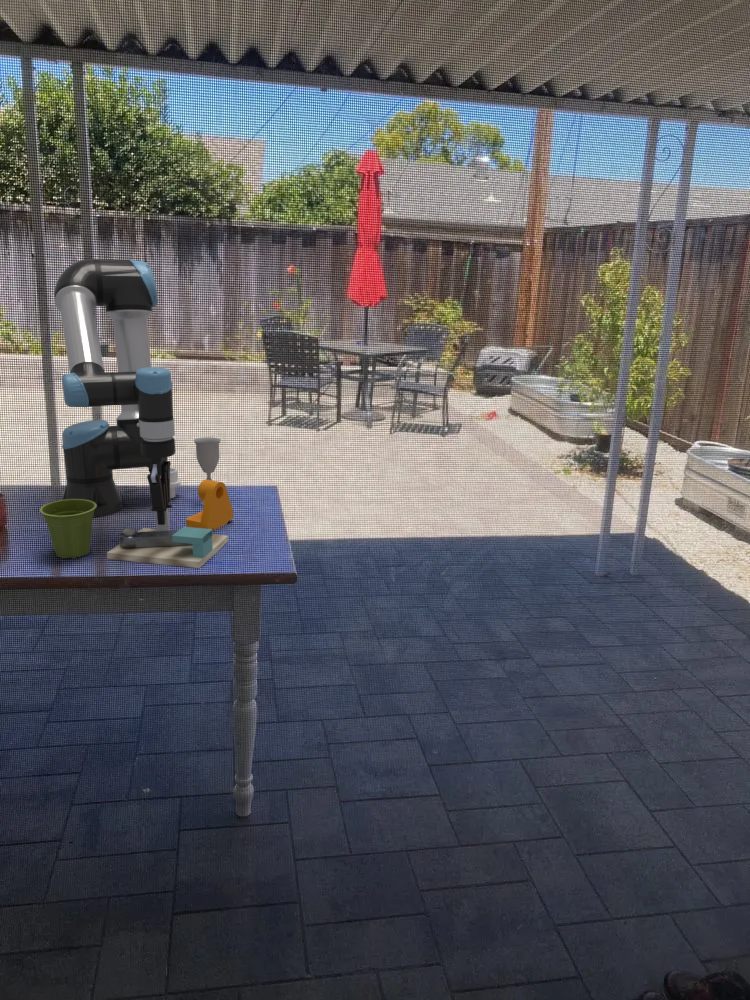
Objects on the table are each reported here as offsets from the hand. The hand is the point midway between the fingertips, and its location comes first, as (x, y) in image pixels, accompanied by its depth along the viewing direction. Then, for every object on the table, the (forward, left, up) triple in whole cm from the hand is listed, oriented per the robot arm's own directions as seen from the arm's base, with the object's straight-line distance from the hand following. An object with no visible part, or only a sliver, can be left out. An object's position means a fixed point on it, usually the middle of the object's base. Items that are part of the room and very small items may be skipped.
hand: (163, 535), depth 174 cm
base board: (+2, -2, -3) cm, 4 cm away
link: (+1, -3, -1) cm, 3 cm away
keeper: (+10, -5, -1) cm, 11 cm away
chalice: (-3, +34, -3) cm, 34 cm away
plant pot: (-18, -9, -3) cm, 20 cm away
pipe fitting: (-16, +36, -3) cm, 39 cm away
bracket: (+4, +17, -3) cm, 18 cm away
